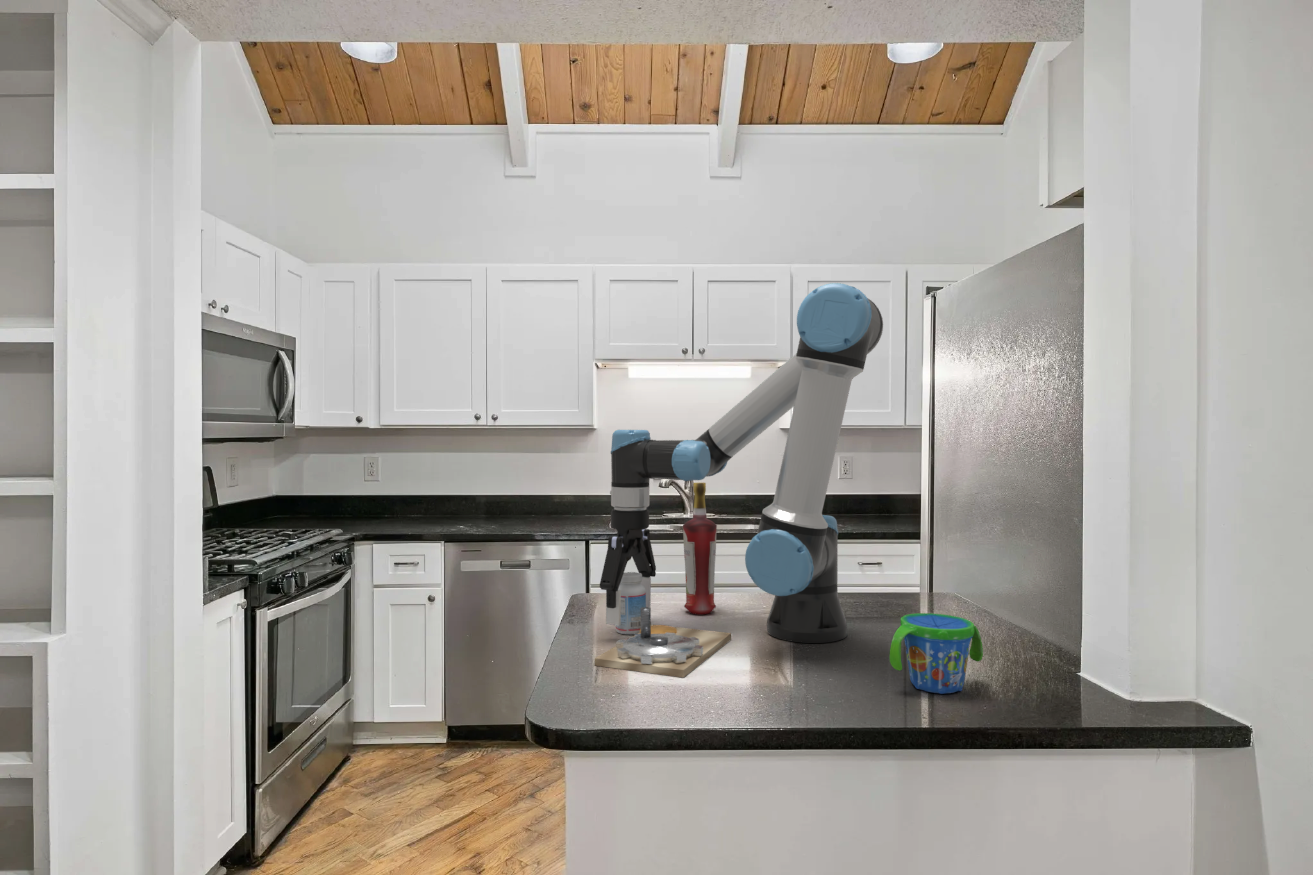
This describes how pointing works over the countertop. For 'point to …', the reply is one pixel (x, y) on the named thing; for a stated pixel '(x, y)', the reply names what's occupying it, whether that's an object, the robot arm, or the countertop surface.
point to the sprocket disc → (657, 645)
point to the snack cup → (936, 650)
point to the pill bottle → (631, 603)
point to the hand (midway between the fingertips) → (629, 616)
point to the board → (706, 639)
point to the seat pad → (662, 629)
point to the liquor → (699, 556)
